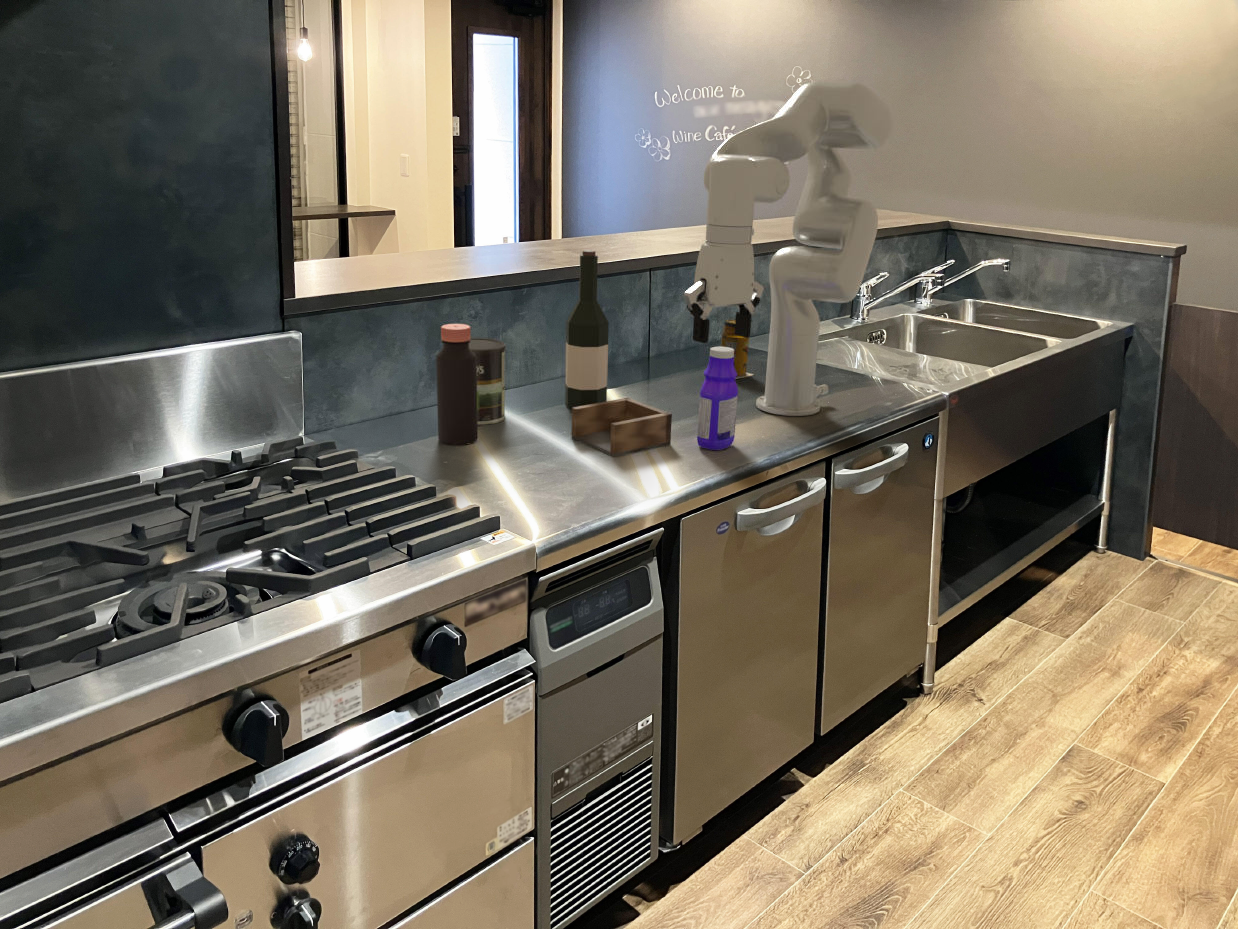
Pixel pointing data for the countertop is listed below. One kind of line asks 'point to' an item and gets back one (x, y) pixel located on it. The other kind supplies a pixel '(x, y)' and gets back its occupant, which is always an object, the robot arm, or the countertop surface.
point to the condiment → (736, 348)
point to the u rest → (621, 426)
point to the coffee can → (490, 379)
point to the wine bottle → (586, 341)
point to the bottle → (718, 401)
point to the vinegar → (456, 387)
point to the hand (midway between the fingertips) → (721, 338)
